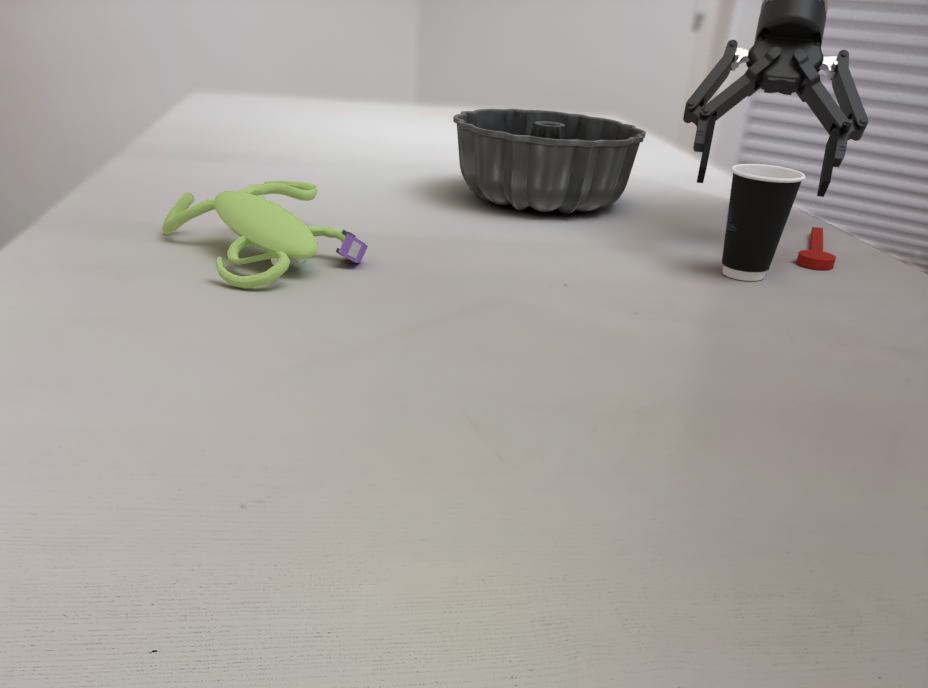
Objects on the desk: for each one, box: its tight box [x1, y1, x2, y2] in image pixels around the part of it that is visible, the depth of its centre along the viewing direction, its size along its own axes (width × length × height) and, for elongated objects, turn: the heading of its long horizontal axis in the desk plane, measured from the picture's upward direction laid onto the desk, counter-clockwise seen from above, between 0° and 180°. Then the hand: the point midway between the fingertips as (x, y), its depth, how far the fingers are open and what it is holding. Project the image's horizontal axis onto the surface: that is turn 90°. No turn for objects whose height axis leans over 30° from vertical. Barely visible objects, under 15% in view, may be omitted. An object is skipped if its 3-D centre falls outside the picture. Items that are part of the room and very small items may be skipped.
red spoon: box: [796, 226, 837, 271], centre depth 117 cm, size 4×18×1 cm, turn 162°
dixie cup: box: [721, 163, 806, 282], centre depth 103 cm, size 8×8×11 cm
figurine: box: [161, 180, 369, 290], centre depth 101 cm, size 18×27×6 cm
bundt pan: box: [452, 108, 647, 215], centre depth 127 cm, size 26×26×10 cm
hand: (761, 182), depth 104 cm, fingers open, 13 cm apart
